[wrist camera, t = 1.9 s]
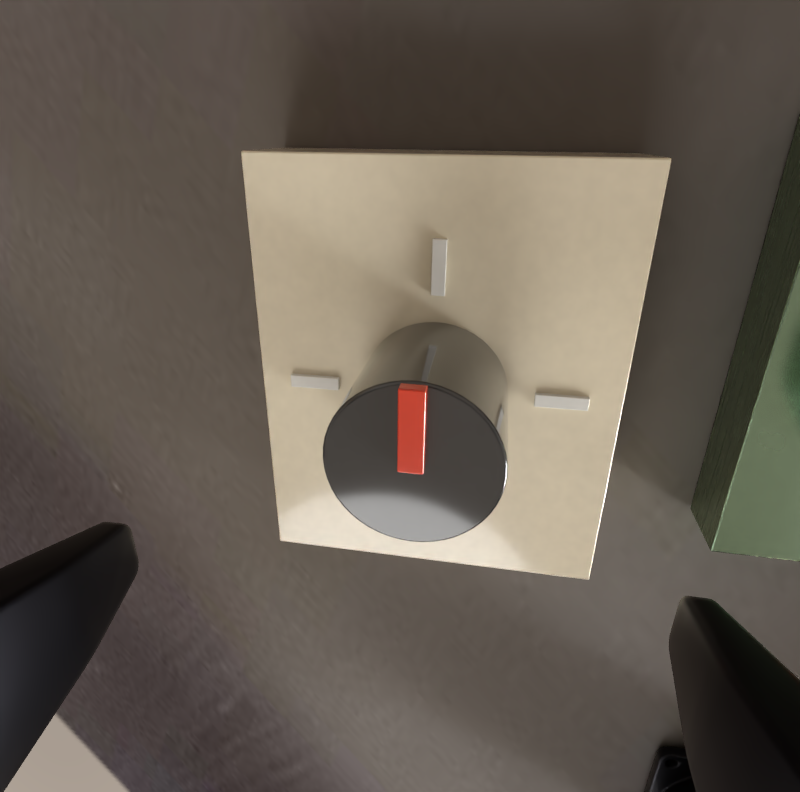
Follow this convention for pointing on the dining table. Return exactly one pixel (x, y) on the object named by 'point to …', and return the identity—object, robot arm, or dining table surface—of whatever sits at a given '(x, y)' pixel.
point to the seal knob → (422, 435)
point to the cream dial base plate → (456, 320)
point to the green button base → (761, 404)
